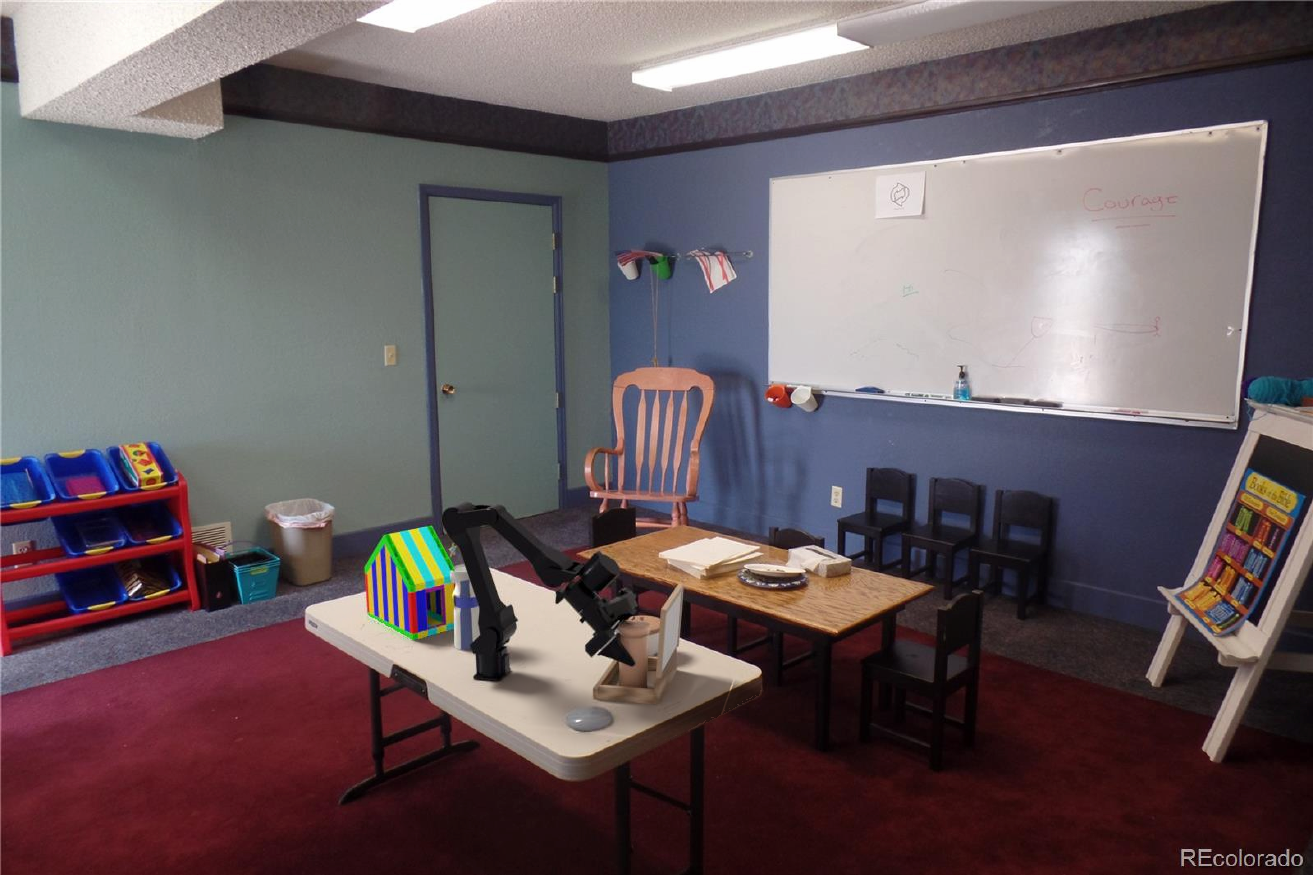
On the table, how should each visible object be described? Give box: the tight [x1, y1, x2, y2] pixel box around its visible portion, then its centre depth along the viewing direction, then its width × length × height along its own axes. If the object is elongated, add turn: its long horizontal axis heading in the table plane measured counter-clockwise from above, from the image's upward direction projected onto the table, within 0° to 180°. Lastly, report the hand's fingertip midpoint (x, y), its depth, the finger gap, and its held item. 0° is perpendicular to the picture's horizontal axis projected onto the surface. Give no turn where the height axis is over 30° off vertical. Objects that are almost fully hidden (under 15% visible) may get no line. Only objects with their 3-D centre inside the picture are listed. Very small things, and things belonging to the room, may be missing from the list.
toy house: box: [364, 525, 456, 641], centre depth 227 cm, size 24×14×25 cm, turn 45°
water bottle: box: [448, 543, 480, 651], centre depth 211 cm, size 8×9×25 cm
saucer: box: [565, 705, 612, 733], centre depth 171 cm, size 9×9×1 cm
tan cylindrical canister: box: [618, 620, 650, 689], centre depth 184 cm, size 7×7×14 cm
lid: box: [656, 582, 685, 678], centre depth 184 cm, size 2×18×14 cm, turn 167°
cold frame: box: [592, 647, 678, 705], centre depth 187 cm, size 14×18×6 cm
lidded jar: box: [629, 615, 660, 657], centre depth 204 cm, size 11×11×9 cm
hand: (638, 659), depth 183 cm, fingers closed on tan cylindrical canister, 6 cm apart
